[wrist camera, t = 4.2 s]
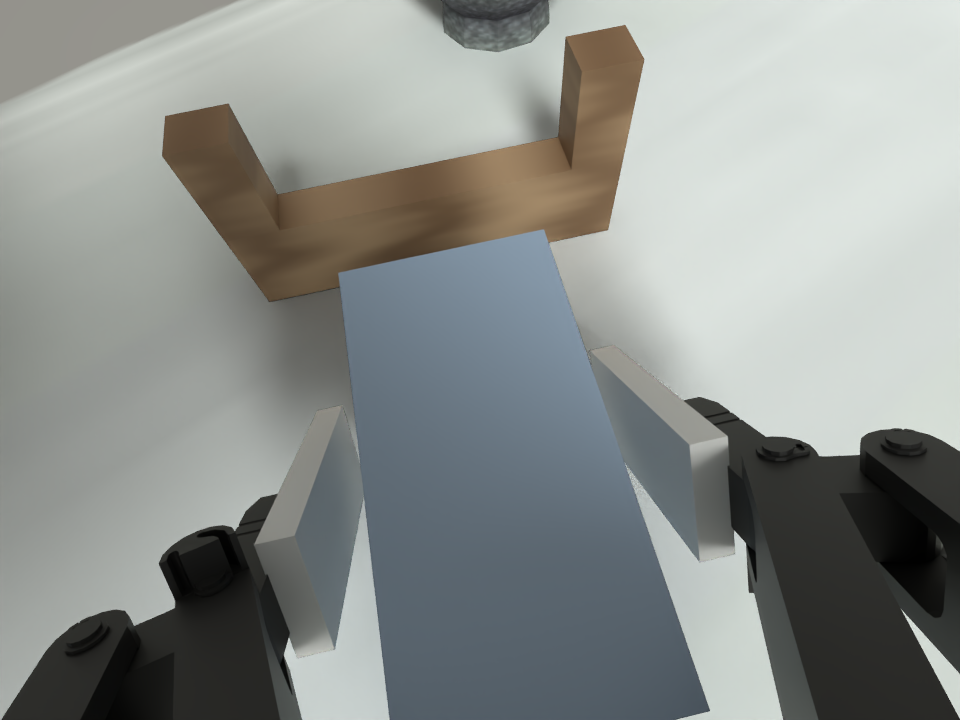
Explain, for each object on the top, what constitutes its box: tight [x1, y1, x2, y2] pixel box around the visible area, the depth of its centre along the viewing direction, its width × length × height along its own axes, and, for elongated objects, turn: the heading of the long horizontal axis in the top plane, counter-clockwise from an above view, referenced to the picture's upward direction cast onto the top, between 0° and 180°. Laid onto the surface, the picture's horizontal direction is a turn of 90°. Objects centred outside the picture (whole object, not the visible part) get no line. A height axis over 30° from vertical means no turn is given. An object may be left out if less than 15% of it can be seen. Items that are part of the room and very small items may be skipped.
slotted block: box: [338, 229, 710, 720], centre depth 14 cm, size 4×8×11 cm, turn 12°
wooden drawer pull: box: [162, 25, 644, 302], centre depth 21 cm, size 15×2×8 cm, turn 102°
